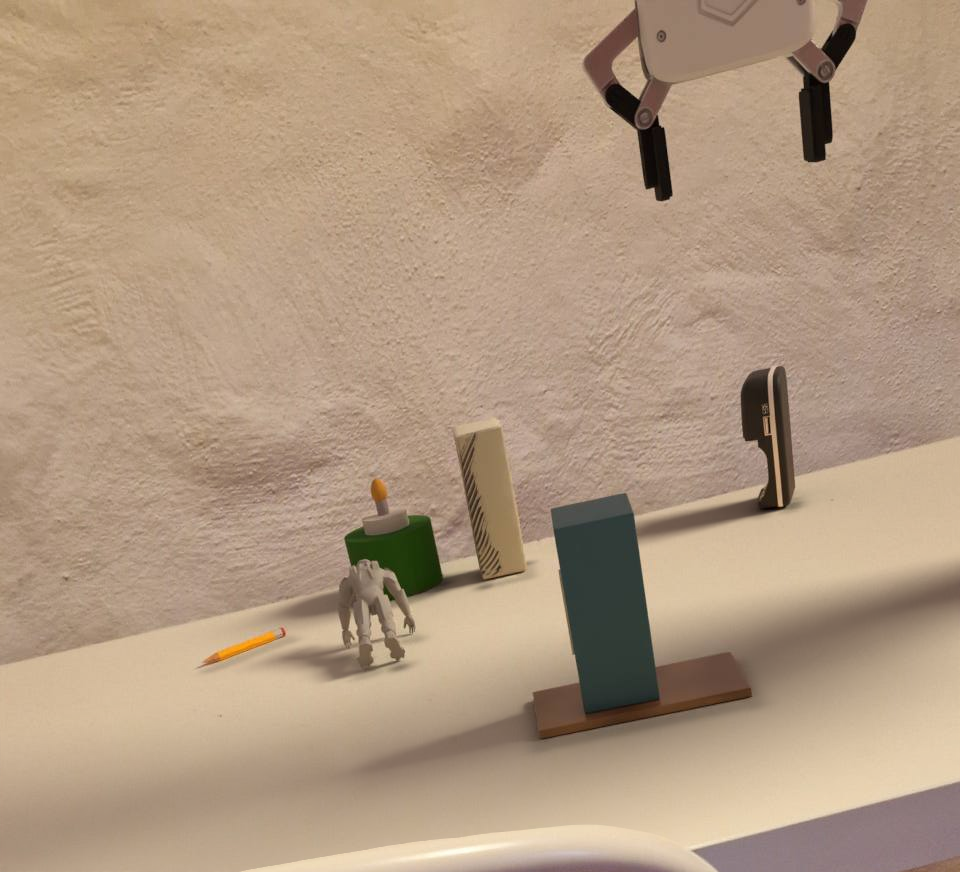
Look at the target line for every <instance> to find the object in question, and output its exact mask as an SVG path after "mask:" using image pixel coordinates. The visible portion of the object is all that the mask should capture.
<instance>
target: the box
mask: <svg viewBox="0 0 960 872" xmlns="http://www.w3.org/2000/svg"><path fill="white" fill-rule="evenodd" d="M452 434H453V439H454V444H455V449H456V454H457V459H458V464H459V468H460V475H461V479H462V484H463V485H462V486H463V490H464V495H465V499H466V506H467V511H468V515H469V520H470V521H469V522H470V526H471V531H472V537H473V542H474V547H475V553H476V558H477V563H478V568H479V572H480V575H481V578H482V580H489V579H495V578H499V577H504V576H508V575H513V574H518V573H522V572H525V571H527V570H528V565H527V560H526V553H525V548H524V542H523V536H522V530H521V524H520V519H519V512H518V507H517V506H518V505H517V501H516V495H515V489H514V483H513V477H512V472H511V466H510V461H509V454H508V448H507V443H506V439H505V433H504V427H503V425H502V422H501V420H500V419H499V417H496V416H495V417H490V418H484V419H481V420H477V421H473V422H469V423H468V422H467V423H463V424H460V425H456V426H453V427H452Z"/></svg>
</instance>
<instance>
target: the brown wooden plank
mask: <svg viewBox="0 0 960 872" xmlns="http://www.w3.org/2000/svg"><path fill="white" fill-rule="evenodd" d="M655 667H656V674H657V682H658V689H659V696H660V699H659V700H654V701H649V702H644V703H638V704H633V705H628V706H623V707H618V708H613V709H607V710H602V711H597V712H592V713H587V714H586V713H585V712H584V706H583V700H582V695H581V689H580V683H579V682H574V683H569V684H566V685H565V684H564V685H560V686H555V687H551V688H545V689H541V690H536V691H533V692H532V697H533V704H534V711H535V718H536V726H537V732H538V737H539V739H540V740H542V739H547V738H552V737H557V736H562V735H563V736H564V735H566V734H572V733H578V732H581V731H587V730H593V729H596V728H601V727H602V728H603V727H607V726H612V725H617V724H621V723H626V722H631V721H632V722H633V721H636V720H642V719H647V718H651V717H656V716H660V715H666V714H671V713H675V712H681V711H685V710H691V709H695V708H701V707H705V706H711V705H715V704H720V703H725V702H730V701H735V700H739V699H745V698H749V697H752V696H753V692H752V690H753V689H752V686H751V685H750V683H749V682H748V679H747V678H746V676H745V675H744V673H743V671H742V669H741V667H740V666H739V663H738V662H737V659H736V658H735V657H734V655H733V654H732V652H731V651H726V652H720V653H715V654H711V655H705V656H701V657H697V658H692V659H687V660H682V661H677V662H672V663H668V664H662V665H657V666H655Z"/></svg>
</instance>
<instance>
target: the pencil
mask: <svg viewBox="0 0 960 872" xmlns="http://www.w3.org/2000/svg"><path fill="white" fill-rule="evenodd" d="M286 635H287V632H286V630H285V628H284V627H278V628H276V629H274V630H271V631H268V632H266V633H264V634H260V635H258V636H255V637H253V638H251V639H247V640H245V641H242V642H240V643H237V644H234V645H232V646H229V647H226V648H224V649H221V650H219V651H216V652H215V653H213V654H211V655H210V656H208V657H207V658H205V659H204V660H203V661H202V662H201V664H208V663H214V662H220V661H223V660H226V659H228V658H231V657H233V656H236V655H238V654H239V655H240V654H241V653H243V652H246V651H249V650H252V649H255V648H256V647H259V646H262V645H265V644H267V643H270V642H272V641H275V640H277V639H280V638H283V637H285V636H286Z"/></svg>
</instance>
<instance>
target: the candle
mask: <svg viewBox="0 0 960 872" xmlns="http://www.w3.org/2000/svg"><path fill="white" fill-rule="evenodd" d="M370 485H371V486H370V495H371V499H372V500H373V501H374V503H375V508H376V511H374V512H371V513H369V514H366V515H364V516H363V517H362V518H361V523H362V526H361V527H358V528H356V529H354V530H352V531H350V532H349V533H346V535H345V536H344V538H343V539H344V545H345V548H346V552H347V557H348V559H349V564H350V567H351V566H353V565H355V567H356V566H357V563H358V562H359V561H360V560H364V559H367V560H369V561H370V562H372V561H377V562H378V564H379V568H381V569H385V568H388V569H390V570H391V571H392V572H393V573H394V574H395V576H396V578H397V581H398V583H399V585H400V587H401V589H403V590H404V592H405V594H406V596H407V597H411V596H414V595H417V594H421V593H423V592H426V591H428V590H430V589H432V588H434V587H435V586H437V585H439V584H440V583H441V582H442V581H443V579H444V576H443V572H442V567H441V562H440V558H439V552H438V547H437V543H436V539H435V534H434V528H433V523H432V520H431V517H430V516H428V515H423V514H412V515H411V514H410V515H409V514H408V510H407V508H406V507H402V506H401V507H400V506H399V507H390V508H389V504H388V499H387V498H388V490H387V487H386V485H385V483H384V482H383V481H382V480H381V479H380V478H377V477H376V478H374V479H373V480H372V482H371V484H370ZM383 586H384V588H383V593H384V595H387V596H388V598H389V601H392V600H394V601H395V598H394V597H393V595H392V594H391V593H390V592H389V591H388V589H387V587H386V586H385V584H383Z"/></svg>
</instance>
